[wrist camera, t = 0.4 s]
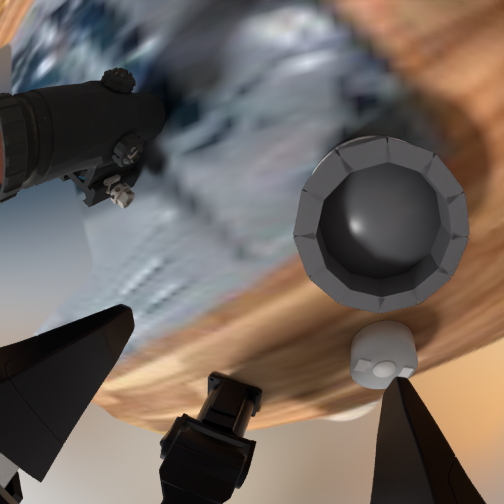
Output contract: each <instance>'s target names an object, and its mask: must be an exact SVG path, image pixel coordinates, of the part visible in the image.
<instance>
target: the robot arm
mask: <svg viewBox="0 0 504 504" xmlns="http://www.w3.org/2000/svg"><path fill="white" fill-rule="evenodd" d="M134 327H135V324H134V318H133V313H132V309H131V308H130V307H129V306H126V305H123V304H119V305H116V306H113V307H111V308H108V309H105V310H103V311H100V312H97V313H95V314H92V315H90V316H87V317H84V318H82V319H79V320H76V321H74V322H71V323H68V324H66V325H63V326H60V327H58V328H55V329H52V330H50V331H47V332H45V333H42V334H39V335H38V336H34V337H31V338H29V339H26V340H23V341H20V342H17V343H14V344H10V345H7V346H3V347H0V504H19V503H20V502H21V500H22V499H23V496H22V491H21V485H20V479H19V474H18V472H17V470H18V469H19V468H21V469H22V470H23V471H25V472H26V473H28V474H29V475H30V476H32V477H33V478H35V479H36V480H38V481H39V482H42V480H43V479H44V477H45V475H46V474H47V472H48V470H49V469H50V467H51V465H52V463H53V462H54V460H55V458H56V457H57V455H58V453H59V452H60V450H61V448H62V446H63V444H64V443H65V441H66V440H67V438H68V436H69V435H70V433H71V431H72V430H73V428H74V427H75V425H76V424H77V422H78V420H79V419H80V417H81V415H82V414H83V412H84V411H85V409H86V408H87V406H88V404H89V403H90V402H91V400H92V398H93V397H94V395H95V394H96V392H97V391H98V389H99V388H100V386H101V385H102V383H103V382H104V380H105V379H106V377H107V376H108V374H109V373H110V371H111V370H112V368H113V367H114V365H115V364H116V362H117V360H118V358H119V357H120V355H121V353H122V351H123V349H124V347H125V345H126V343H127V342H128V340H129V338H130V336H131V334H132V332H133V330H134ZM261 394H262V390H260V389H258V388H255V387H251V386H248V385H244V384H241V383H238V382H235V381H231V380H228V379H225V378H222V377H219V376H216V375H213V374H210V375H209V377H208V397H207V399H206V401H205V403H204V405H203V407H202V409H201V411H200V413H199V415H198V417H197V419H194V418H192V417H190V416H188V415H187V414H185V413H184V414H183V415H182V417H177V418H176V420H175V422H174V424H173V426H172V427H171V429H170V430H169V431H168V432H167V433H166V435H165V436H164V437H163V438H162V440H161V441H160V445H161V448H162V449H161V455H160V458H161V459H164V461H163V463H162V465H161V467H160V469H159V474H160V480H161V487H162V493H163V501H162V503H161V504H223V503H224V502H226V501H227V500H228V499H230V498H231V496H232V493H233V491H234V489H235V488H237V489H239V488H240V487H241V486H242V484H243V483H244V480H245V479H246V476H247V474H248V471H249V468H250V465H251V461H252V457H253V453H254V449H255V445H256V441H254V440H248V439H245V438H243V436H244V434H245V431H246V428H247V425H248V423H249V420H250V417H251V416H252V417H254V416H255V414H256V411H257V408H258V404H259V401H260V398H261ZM370 504H486V503H485V501H484V500H483V498H482V497H481V495H480V494H479V492H478V491H477V489H476V488H475V487H474V485H473V484H472V482H471V480H470V479H469V478H468V476H467V474H466V473H465V471H464V469H463V468H462V466H461V464H460V462H459V461H458V459H457V457H455V454H454V452H453V450H452V449H451V447H450V445H449V443H448V442H447V440H446V438H445V437H444V435H443V433H442V432H441V430H440V429H439V427H438V425H437V424H436V422H435V420H434V419H433V417H432V416H431V414H430V412H429V411H428V409H427V407H426V406H425V404H424V403H423V401H422V400H421V398H420V397H419V395H418V393H417V392H416V390H415V389H414V387H413V386H412V384H411V383H410V381H409V380H408V378H406V377H399V376H396V377H395V378H394V379H393V380H392V381H391V383H390V384H389V386H388V387H387V389H386V390H385V392H384V394H383V399H382V407H381V414H380V421H379V427H378V433H377V442H376V457H375V467H374V477H373V486H372V494H371V502H370Z"/></svg>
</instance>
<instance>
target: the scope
mask: <svg viewBox="0 0 504 504" xmlns="http://www.w3.org/2000/svg"><path fill="white" fill-rule="evenodd" d="M135 85H136V84H135V80H134V78H133V76H132V73H131V72H130V73H129V75H128V70H125V69H123V68H119V69H118V68H114V69H112V70H108V71H105V72H104V76H102V79H101V81H88V82H85V83H82V84H71V85H62V86H54V87H47V88H40V89H34V90H30V91H28V92H22V93H18V94H14V95H13V96H12V95H11V94H9V93H1V94H0V203H3V202H5V201H7V200H9V199H11V198H13V197H15V196H16V194H17V192H19V191H20V189H26V188H29V187H31V186H34V185H39V184H41V183H44V182H47V181H50V180H53V179H55V178H58V177H59V178H60V179H61V180H62V181H66V180H68V179H71V180H72V181H73V182H74V183H75V184H76V185H77V186H78V187H79V188H80V189H81V190H82V191H83V192H84V193H85V196H86V199H85V200H83V202H84V203H85V204H86V205H87V206H88V207H91V206H93V205H95V204H97V203H99V202H101V201H103V200H105V199H107V198H109V197H111V200H112V201H113V202H114V204H118V205H120V206H121V207H122V208H126V207H128V206H129V205H130V203H131V202H132V201H133V199H134V197H135V194H134V192H132V191H131V190H130V188H131V187H133V186H134V184H135V182H136V180H137V178H138V176H139V172H138V171H137V170H136V171H132V168H133V167H134V165H135V164H136V163H137V161H138V159H139V157H140V156H141V154H142V152H143V150H144V148H145V146H146V144H147V143H148V141H150V140H151V139H153V138H155V137H156V136H157V135H158V134H159V133H160V132H161V130H162V128H163V126H164V122H165V109H164V105H163V103H162V101H161V100H160V99H159V98H158V97H157V96H155V95H154V94H152V93H132V92H131V91H132V90H133V86H135ZM78 176H84V177H86V179H85V180H82V179H80V178H79V177H78ZM125 204H126V205H125Z"/></svg>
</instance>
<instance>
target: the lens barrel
mask: <svg viewBox="0 0 504 504" xmlns="http://www.w3.org/2000/svg"><path fill="white" fill-rule="evenodd" d="M463 190H464V189H463V188H462V187H461V185H460V184H459V183H458V181H457V180H456V179H455V177H454V176H453V175H452V173H451V172H450V171H449V169H448V168H447V167H446V166H445V164H444V163H443V162H442V161H441V159H440V158H439V157H438V156H437V155H436V154H434V152H431V151H429V150H426V149H424V148H421V147H418V146H415V145H412V144H410V143H408V142H405V141H402V140H400V139H396V138H392V137H387V136H383V135H382V136H381V135H365V136H360V137H355V138H352V139H349V140H347V141H345V142H343V143H341V144H339V145H337V146H336V147H334V148H333V149H332V150H330V151H329V152H328V153H327V154H326V155H325V156H324V157H323V158H322V159H321V161H320V162H319V163H318V164H317V166H316V168H315V169H314V171H313V173H312V175H311V176H310V177H309V178H308V179H307V181H306V183H305V185H304V187H303V189H302V192H301V197H300V203H299V208H298V213H297V218H296V223H295V228H294V233H293V235H294V237H293V238H294V241H295V243H296V246H297V249H298V251H299V254H300V257H301V260H302V263H303V265H304V268H305V271H306V274H307V276H309V279H310V280H311V281H313V282H314V283H315V284H316V285H317V286H318V287H320V288H321V289H322V290H323V291H324V292H325V293H327V294H328V295H329V296H330V297H331V298H332V299H334V300H335V301H336V302H337V303H338V304H339V303H340V302H341V305H344V306H348V307H352V308H356V309H361V310H365V311H369V312H374V313H379V310H380V312H381V313H385V312H389V311H394V310H398V309H402V308H406V307H411V306H415V305H418V301H419V302H420V303H422V302H423V301H424V300H426V299H427V298H428V297H429V296H431V295H432V294H433V293H434V292H436V291H437V290H438V289H439V288H440V287H442V286H443V285H444V284H445V283H446V282H447V281H449V280H450V279H451V277H450V275H451V276H453V275H454V273H455V270H456V268H457V266H458V264H459V261H460V259H461V257H462V255H463V252H464V250H465V247H466V245H467V242H468V240H469V238H468V237H467V236H469V222H468V212H467V204H466V196H465V192H463Z"/></svg>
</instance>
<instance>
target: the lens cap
mask: <svg viewBox="0 0 504 504" xmlns="http://www.w3.org/2000/svg"><path fill="white" fill-rule="evenodd" d="M417 364H418V359H417V353H416V348H415V343H414V339H413V335H412V332H411V330H410V329H409V328H408V327H407V326H406V325H404V324H402V323H400V322H397V321H389V320H386V321H378V322H374V323H372V324H369V325H367V326H365V327H364V328H362V329H361V330H360V331H359V332H358V333H357V334H356V335H355V336H354V338H353V340H352V343H351V362H350V374H351V377H352V378H353V380H354V381H355V382H356V383H357V384H359V385H361V386H363V387H366V388H371V389H385V388H387V387H388V386H389V384H390V383H391V381H392V380H393V379H394V378H395V377H396V376H399V377H406V378H409V377H410V376H411V375H412V374H413V373H414V372H415V370H416V368H417Z"/></svg>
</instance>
